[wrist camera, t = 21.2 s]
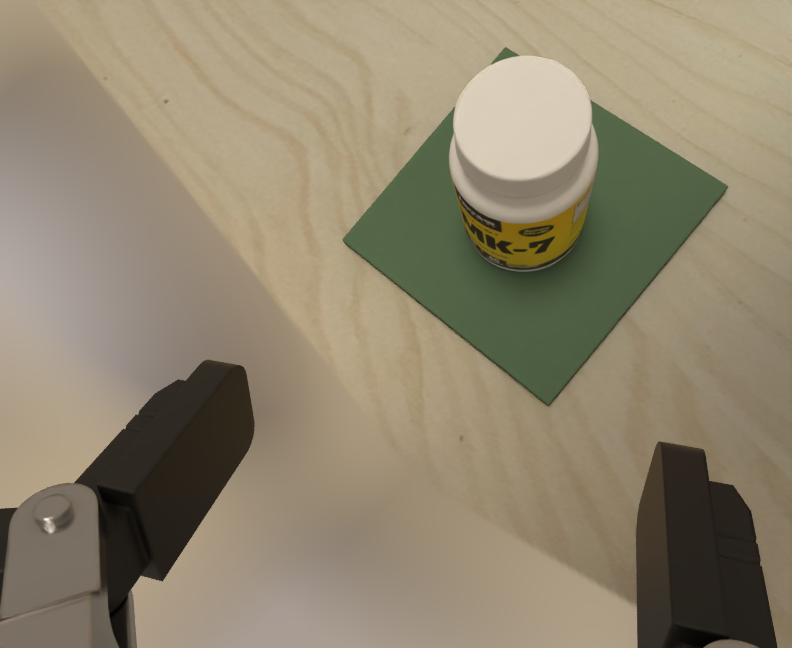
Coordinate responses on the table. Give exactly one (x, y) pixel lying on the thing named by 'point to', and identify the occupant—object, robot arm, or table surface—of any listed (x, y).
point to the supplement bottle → (523, 161)
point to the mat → (552, 286)
